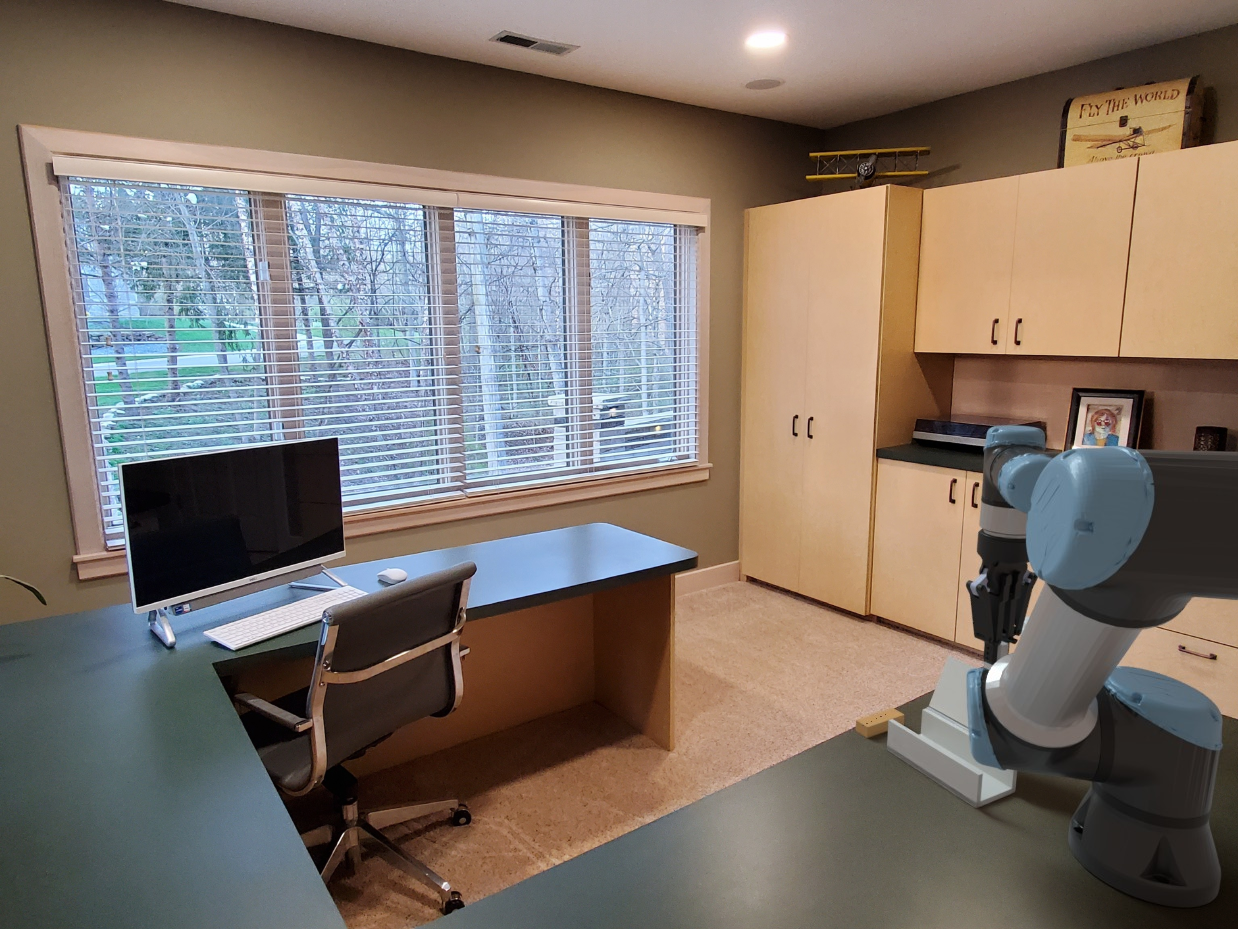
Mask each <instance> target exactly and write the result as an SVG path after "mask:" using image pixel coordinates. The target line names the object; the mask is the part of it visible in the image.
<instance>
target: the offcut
mask: <svg viewBox="0 0 1238 929" xmlns="http://www.w3.org/2000/svg"><path fill="white" fill-rule="evenodd" d="M885 714H886V715H885ZM880 716H882V717H880ZM876 718H877V719H876ZM891 719H893V720H895V721H897V722H898V723H900V724H902V725H903V726H904V725H905V714H904V713H903V712H901V711H899V710H897V709H895V708H894V707H890V708H888V709H885V710H882V711H879V712H875V713H873V714H871V715H867V716H863V717H860V718H857V719H856V720H855V732H856V733H858V734H860V735H862V736H863V737H864V738H866V739H868V738H871V737H874V736H877V735H880V734H882V733H885V732H888V722H889V720H891ZM871 721H872V722H871ZM866 723H868V724H866ZM862 725H864V726H862Z"/></svg>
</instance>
